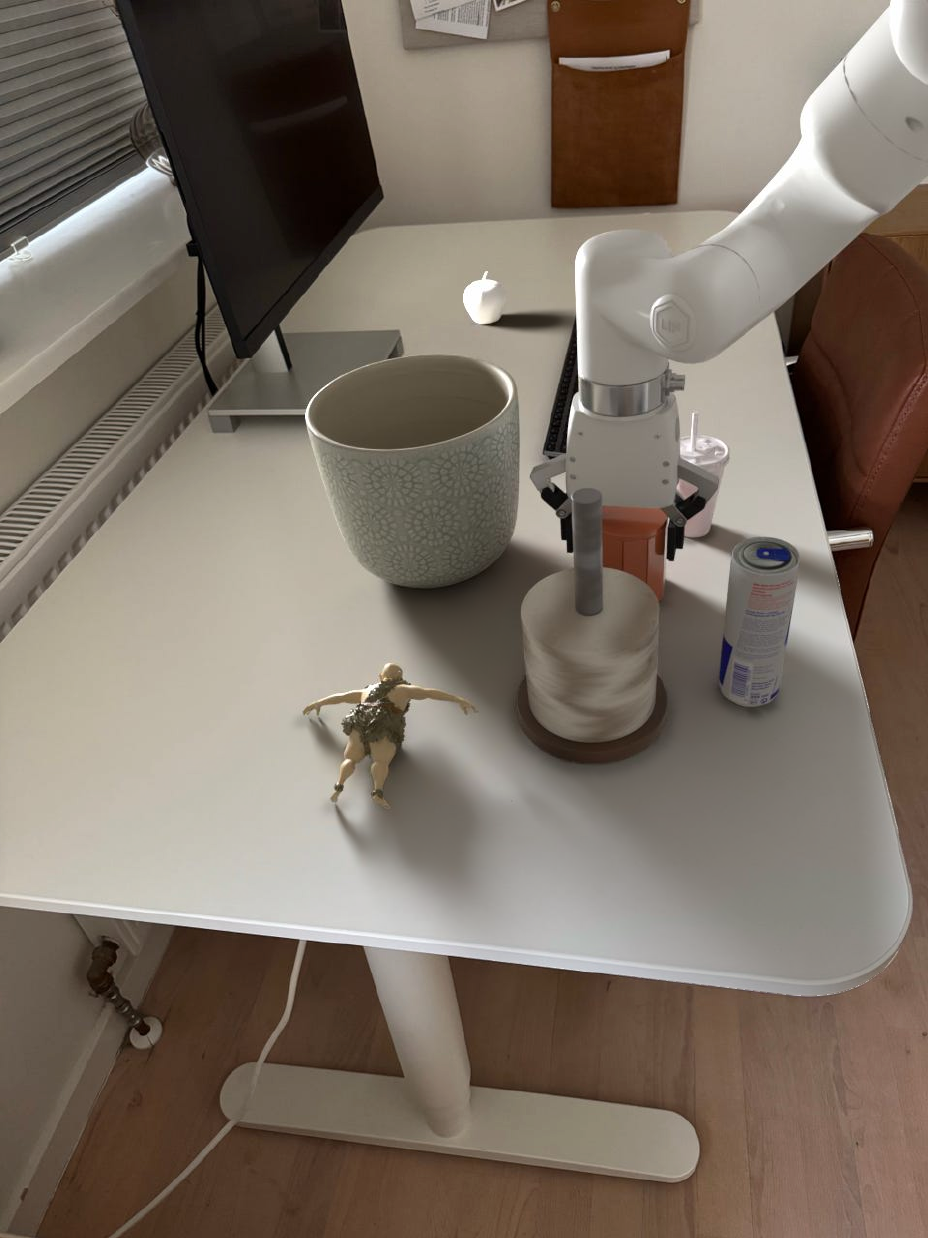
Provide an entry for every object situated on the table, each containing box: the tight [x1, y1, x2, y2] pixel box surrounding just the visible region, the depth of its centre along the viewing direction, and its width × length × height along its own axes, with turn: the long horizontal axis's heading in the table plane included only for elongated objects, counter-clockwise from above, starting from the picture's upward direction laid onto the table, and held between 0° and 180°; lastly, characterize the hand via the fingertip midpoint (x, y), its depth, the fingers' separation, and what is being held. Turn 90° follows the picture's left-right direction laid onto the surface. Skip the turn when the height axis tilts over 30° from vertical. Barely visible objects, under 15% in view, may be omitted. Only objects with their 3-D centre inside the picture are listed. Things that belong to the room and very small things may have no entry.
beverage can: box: [718, 536, 801, 708], centre depth 73 cm, size 5×5×15 cm
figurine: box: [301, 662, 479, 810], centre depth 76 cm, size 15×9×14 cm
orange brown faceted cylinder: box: [602, 506, 669, 602], centre depth 88 cm, size 7×8×9 cm
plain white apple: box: [463, 270, 507, 325], centre depth 147 cm, size 7×7×8 cm
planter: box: [305, 353, 521, 589], centre depth 93 cm, size 21×21×19 cm
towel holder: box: [516, 488, 669, 765], centre depth 72 cm, size 13×13×22 cm
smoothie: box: [677, 410, 731, 538], centre depth 93 cm, size 6×6×14 cm
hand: (621, 548), depth 87 cm, fingers open, 9 cm apart
